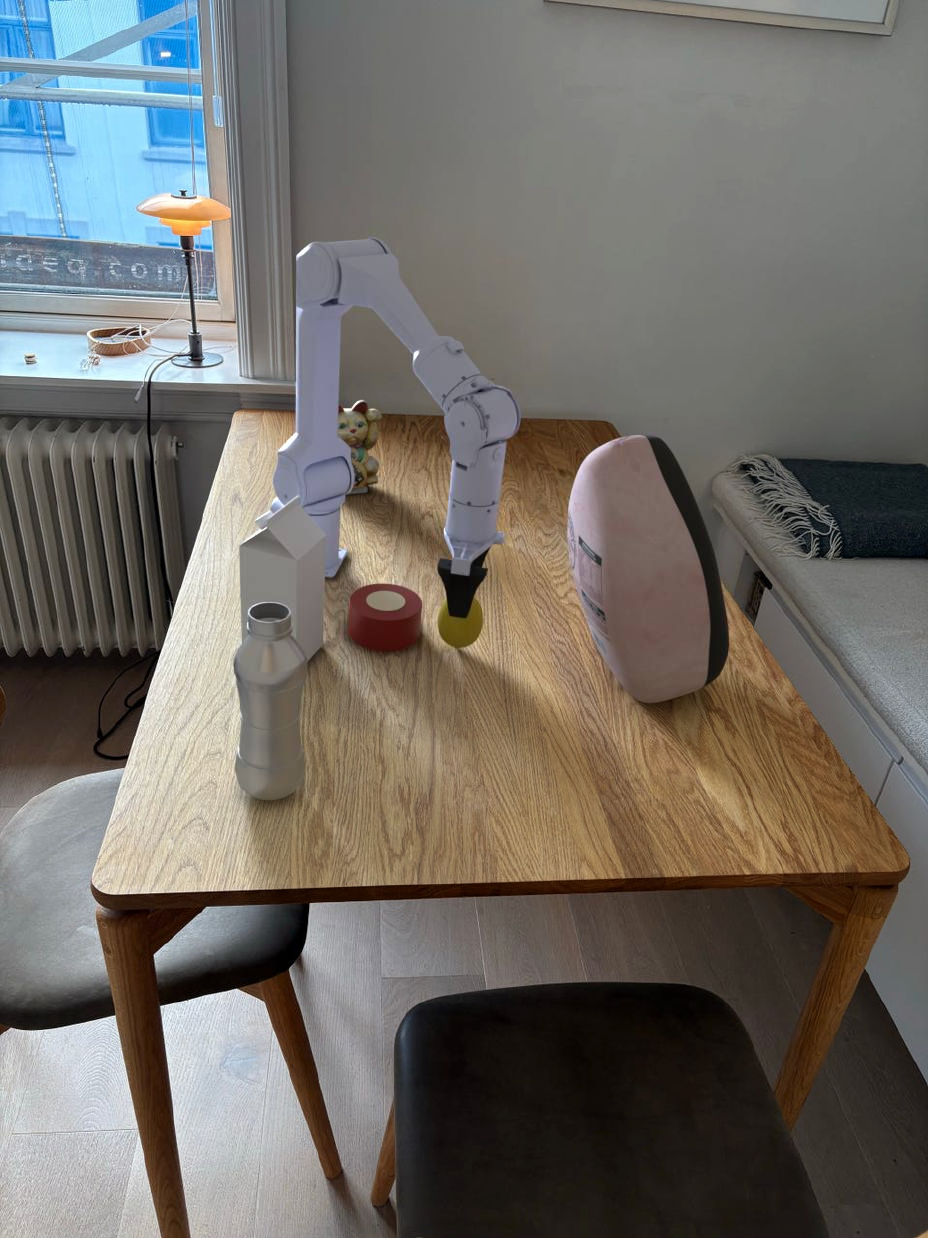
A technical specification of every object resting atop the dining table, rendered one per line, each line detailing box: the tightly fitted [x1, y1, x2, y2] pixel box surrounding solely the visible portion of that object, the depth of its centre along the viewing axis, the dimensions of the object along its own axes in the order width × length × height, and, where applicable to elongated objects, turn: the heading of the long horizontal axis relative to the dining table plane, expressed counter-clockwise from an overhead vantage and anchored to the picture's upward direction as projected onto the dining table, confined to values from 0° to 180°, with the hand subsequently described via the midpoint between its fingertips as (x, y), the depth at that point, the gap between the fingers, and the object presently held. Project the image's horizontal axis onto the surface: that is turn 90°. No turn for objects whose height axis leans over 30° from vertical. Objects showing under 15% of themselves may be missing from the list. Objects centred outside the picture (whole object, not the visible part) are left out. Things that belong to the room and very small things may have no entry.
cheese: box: [347, 582, 423, 653], centre depth 118 cm, size 9×9×5 cm
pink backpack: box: [566, 434, 730, 704], centre depth 109 cm, size 22×20×30 cm
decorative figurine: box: [338, 399, 383, 495], centre depth 152 cm, size 10×8×15 cm
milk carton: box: [238, 496, 326, 662], centre depth 108 cm, size 7×7×19 cm
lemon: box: [437, 596, 484, 650], centre depth 116 cm, size 6×6×8 cm
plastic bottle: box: [232, 602, 309, 801], centre depth 88 cm, size 6×7×20 cm
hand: (462, 600), depth 114 cm, fingers open, 7 cm apart
